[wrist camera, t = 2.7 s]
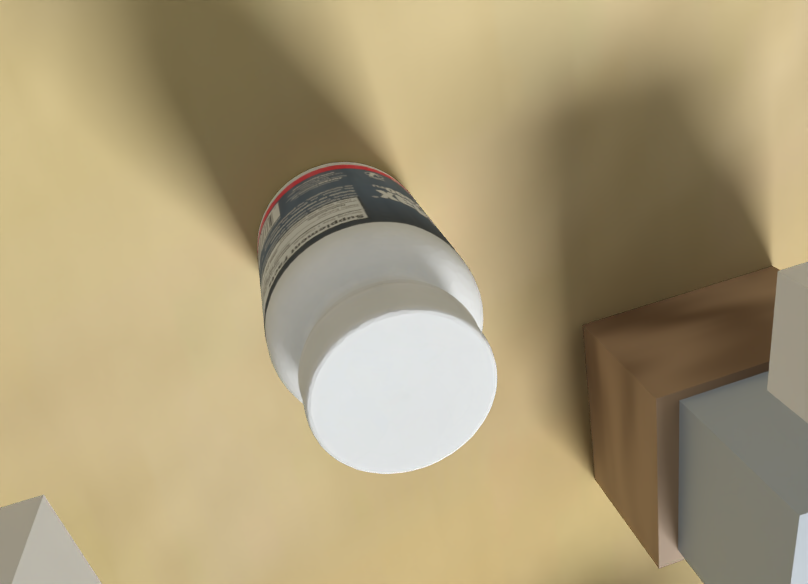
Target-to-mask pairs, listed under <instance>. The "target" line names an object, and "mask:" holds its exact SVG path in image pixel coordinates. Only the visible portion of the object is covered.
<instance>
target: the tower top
mask: <svg viewBox="0 0 808 584" xmlns="http://www.w3.org/2000/svg"><path fill="white" fill-rule="evenodd" d="M768 373H769V371H767V372H764V373H761V374H758V375H755V376H752V377H749V378H746V379H742V380H739V381H736V382H733V383H730V384H727V385H724V386H721V387H718V388H715V389H712V390H709V391H706V392H703V393H700V394H697V395H694V396H691V397H688V398H685V399H682V400H679V504H678V551H679V552H680V553H681V554H682V556H683V557H684V558H685V560H686V561H687V562H688V564H689V565H690V566H691V567H692V569H693V570H694V571H695V573H696V574H697V575H698V576H699V578H700V579H701V580H702V582H703V583H704V584H808V423H807V422H805V421H804V420H803V419H802V418H800V417H799V416H798V415H797V414H796V413H794V412H793V411H792V410H791V409H789V408H788V407H787V406H786V405H785V404H783V403H782V402H781V401H780V400H778V399H777V398H776V397H775V396H773V395H772V394H771V393H770V392H769V391H767V384H768Z"/></svg>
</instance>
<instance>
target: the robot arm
mask: <svg viewBox="0 0 808 584" xmlns="http://www.w3.org/2000/svg"><path fill="white" fill-rule="evenodd" d="M767 391H769V392H770V393H771V394H772V395H773V396H775V397H776V398H777V399H778V400H780V401H781V402H782V403H783V404H785V405H786V406H787V407H788V408H789V409H791V410H792V411H793V412H794V413H796V414H797V415H798V416H799V417H800V418H802V419H803V420H804V421H805V422H807V423H808V262H806V263H803V264H799V265H796V266H793V267H789V268H786V269H783V270H780V271H778V274H777V285H776V296H775V307H774V318H773V329H772V340H771V351H770V362H769V373H768V384H767ZM0 584H102V583H101V582H100V580H99V579H98V577H97V575H96V574H95V572H94V571H93V569H92V568H91V566H90V565H89V563H88V562H87V560H86V559H85V557H84V556H83V554H82V552H81V551H80V549H79V548H78V546H77V545H76V543H75V542H74V540H73V539H72V537H71V536H70V534H69V533H68V531H67V530H66V528H65V526H64V525H63V523H62V522H61V520H60V519H59V517H58V516H57V514H56V513H55V511H54V510H53V508H52V507H51V505H50V503H49V502H48V500H47V499H46V497H45V496H44V495H41V496H38V497H34V498H31V499H28V500H24V501H21V502H18V503H15V504H11V505H8V506H5V507H1V508H0Z"/></svg>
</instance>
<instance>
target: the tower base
mask: <svg viewBox="0 0 808 584" xmlns="http://www.w3.org/2000/svg"><path fill="white" fill-rule="evenodd" d="M778 271H780V270H779V269H777V268H775V267H773V266H771V267H768V268H764V269H761V270H758V271H755V272H751V273H748V274H745V275H742V276H739V277H735V278H732V279H729V280H726V281H723V282H719V283H716V284H713V285H710V286H706V287H703V288H700V289H697V290H694V291H690V292H687V293H684V294H681V295H677V296H674V297H671V298H668V299H665V300H661V301H658V302H655V303H652V304H649V305H645V306H642V307H639V308H636V309H632V310H629V311H626V312H623V313H620V314H616V315H613V316H610V317H607V318H603V319H600V320H597V321H594V322H591V323H587V324H584V325H583V334H584V347H585V360H586V372H587V385H588V398H589V410H590V423H591V435H592V448H593V461H594V473H595V480H596V482H597V483H598V484H599V486H600V487H601V489H602V490H603V491H604V493H605V494H606V495H607V497H608V498H609V500H610V501H611V502H612V504H613V505H614V507H615V508H616V509H617V511H618V512H619V514H620V515H621V516H622V518H623V519H624V520H625V522H626V523H627V525H628V526H629V527H630V529H631V530H632V532H633V533H634V534H635V536H636V537H637V539H638V540H639V541H640V543H641V544H642V546H643V547H644V548H645V550H646V551H647V552H648V554H649V555H650V557H651V558H652V559H653V561H654V562H655V564H656V565H657V566H658V568H662V567H665V566H667V565H670V564H673V563H676V562H678V561H681V560H684V559H685V558H684V557H683V556H682V554H681V553H680V552H679V551H678V504H679V400H682V399H685V398H688V397H691V396H694V395H697V394H700V393H703V392H706V391H709V390H712V389H715V388H718V387H721V386H724V385H727V384H730V383H733V382H736V381H739V380H742V379H746V378H749V377H752V376H755V375H758V374H761V373H764V372H767V371H769V362H770V351H771V340H772V329H773V318H774V307H775V296H776V285H777V274H778Z"/></svg>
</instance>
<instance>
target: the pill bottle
mask: <svg viewBox="0 0 808 584" xmlns="http://www.w3.org/2000/svg"><path fill="white" fill-rule="evenodd" d="M257 253H258V264H259V276H260V286H261V297H262V308H263V318H264V329H265V337H266V342H267V347H268V351H269V355H270V358H271V361H272V364H273V366H274V368H275V370H276V372H277V374H278V376H279V378H280V379H281V381H282V382H283V384H284V385H285V386H286V388H287V389H288V390H289V391H290V392H291V393H292V394H293V395H294V396H295V397H296V398H297V399H298V400H299V401H301V402H302V403H303V405H304V409H305V414H306V418H307V421H308V424H309V427H310V429H311V431H312V433H313V435H314V437H315V438H316V439H317V441H318V442H319V444H320V445H321V446H322V447H323V448H324V449H325V451H326V452H328V453H329V454H330V455H331V456H332V457H334V458H335V459H336V460H338V461H340V462H341V463H343V464H345V465H348V466H350V467H352V468H355V469H357V470H361V471H365V472H372V473H379V474H391V473H402V472H408V471H413V470H417V469H420V468H423V467H426V466H429V465H432V464H434V463H436V462H438V461H440V460H442V459H444V458H445V457H447V456H449V455H451V454H452V453H454V452H455V451H456V450H457V449H459V448H460V447H461V446H462V445H464V444H465V443H466V442H467V441H468V440H469V439H470V438H471V437H472V436H473V435H474V434H475V433H476V431H477V430H478V429H479V427H480V426H481V424H482V423H483V422H484V420H485V418H486V416H487V415H488V413H489V411H490V408H491V406H492V403H493V400H494V397H495V393H496V387H497V368H496V363H495V359H494V356H493V352H492V349H491V347H490V345H489V343H488V341H487V339H486V338H485V336H484V335H483V333H482V328H483V306H482V301H481V296H480V292H479V289H478V287H477V284H476V281H475V279H474V277H473V275H472V273H471V272H470V270H469V268H468V266H467V265H466V264H465V262H464V261H463V259H462V258H461V257H460V256H459V254H458V253H457V252H456V251H455V249H454V248H453V247H452V246H451V244H450V243H449V242H448V241H447V239H446V238H445V237H444V236H443V235H442V233H441V232H440V231H439V230H438V228H437V227H436V226H435V225H434V223H433V222H432V220H431V219H430V218H429V217H428V216H427V215H426V213H425V212H424V211H423V210H422V208H421V207H420V206H419V205H418V203H417V202H416V201H415V200H414V198H413V197H412V196H411V194H410V193H409V192H408V190H406V189H405V188H404V187H403V186H402V185H401V184H400V183H399V182H398V181H397V180H395V179H394V178H393V177H391V176H390V175H389V174H387V173H385V172H383V171H381V170H379V169H377V168H374V167H372V166H368V165H365V164H360V163H354V162H336V163H328V164H324V165H320V166H317V167H314V168H311V169H309V170H307V171H305V172H303V173H301V174H299V175H297V176H296V177H294V178H293V179H292V180H290V181H289V182H288V183H286V184H285V185H284V186H283V187H282V188H281V189H280V190H279V191H278V192H277V194H276V195H275V196H274V197H273V199H272V200H271V202H270V203H269V205H268V207H267V209H266V211H265V213H264V215H263V218H262V220H261V224H260V227H259V232H258V250H257Z"/></svg>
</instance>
